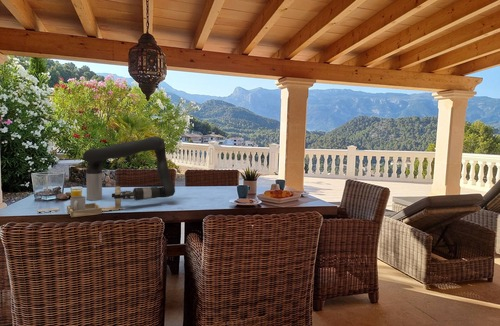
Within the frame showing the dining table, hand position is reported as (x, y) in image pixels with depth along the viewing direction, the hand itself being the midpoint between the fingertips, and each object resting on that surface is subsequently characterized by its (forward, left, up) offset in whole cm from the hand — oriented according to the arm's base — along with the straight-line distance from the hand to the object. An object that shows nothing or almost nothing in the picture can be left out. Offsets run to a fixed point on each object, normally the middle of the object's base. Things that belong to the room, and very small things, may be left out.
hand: (113, 196), depth 192 cm
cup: (0, -19, -8) cm, 20 cm away
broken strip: (-13, -23, -8) cm, 28 cm away
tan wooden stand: (0, -9, -8) cm, 12 cm away
